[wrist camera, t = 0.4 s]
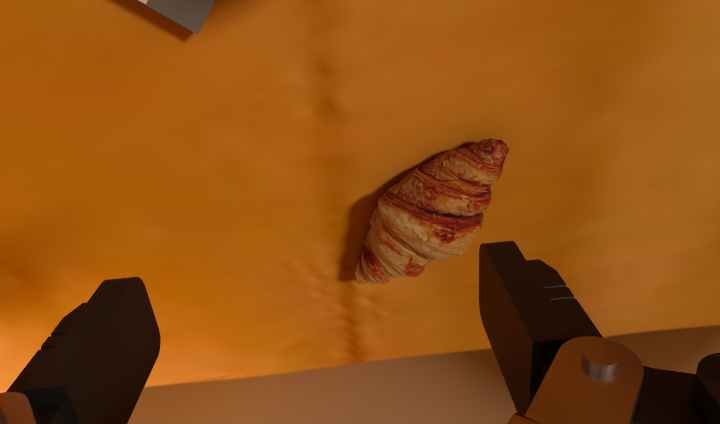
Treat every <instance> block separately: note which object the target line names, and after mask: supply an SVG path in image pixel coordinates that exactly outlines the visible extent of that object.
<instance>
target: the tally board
mask: <svg viewBox="0 0 720 424" xmlns="http://www.w3.org/2000/svg"><path fill="white" fill-rule="evenodd" d="M137 1H139V2H141V3H142V4H144V5H146V6H148V7H149V8H151V9H153V10H155V11H157V12H158V13H160V14H162V15H164V16H165V17H167V18H169V19H171V20H173V21H174V22H176V23H178V24H180V25H181V26H183V27H185V28H187V29H189V30H190V31H192V32H194V33H196V34H197V35H198V33H199V31H200V29H201V27H202V25H203V23H204V21H205V19H206V17H207V16H208V14H209V12H210V10H211V8H212V6H213V4H214V2H215V0H137Z"/></svg>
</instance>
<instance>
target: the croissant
mask: <svg viewBox="0 0 720 424" xmlns="http://www.w3.org/2000/svg"><path fill="white" fill-rule="evenodd" d="M508 151H509V149H508V147H507V145H506V144H505V143H504V142H503V141H502V140H496V139H492V138H490V139H488V140H487V139H484V140H482V141H480V142H478V143H476V144H473V145H471V146H469V147H467V148H461V149H457V150H455V149H454V150H450V151H446V152H444V153H443V154H441V155H439V156H437V157H436V158H435V159H434V160H432V161H430V162H429V163H427V164H424V165H422V166H419V167H417V168H415V169H413V170H412V171H411V172H410V173H409V174H408V175H406V176H405V177H404V178H403V179H402V180H401V181H400V182H399V183H397V184H395V185H394V186H392V187H391V188H389V189H388V191H386V192H384V193H383V194H382V195H381V197H380V198H379V199H378V204H377V205H376V206H375V209H374V211H373V212H372V214H371V217H370V224H371V229H369V231H368V234H367V237H366V239H365V240H364V244H363V252H362V254H361V255H360V257H359V259H358V264H357V267H356V270H355V278H356V280H357V282H358V284H365V283H366V282H368V283H381V284H384V283H387V282H389V281H390V279H391V278H393V277H400V276H404V275H405V276H412V277H418V276H419V275H420V274H422V273H423V272H424V269H425V265H426V263H427V261H428V262H431V261H432V260H433V259H437V260H447V259H450V258H452V257H455V256H457V255H462V253H463V252H464V251H465V250H466V249H467V248H468V246H469V245H470V244H471V242H472V241H473V240H474V239H475V238H476V237H477V236H478V234H479V232H480V230H481V228H482V221H483V212H484V211H485V209H486V208H487V207H488V205H489V203H490V201H491V191H490V190H491V184H492V185H493V184H494V183H496V181H497V180H498V179H499V177H500V175H501V173H502V169H503V163H504V160H505V157H506V154H507V153H508Z"/></svg>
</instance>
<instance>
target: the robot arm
mask: <svg viewBox="0 0 720 424" xmlns="http://www.w3.org/2000/svg"><path fill="white" fill-rule="evenodd" d="M479 307H480V314H481V319H482V323H483V326H484V328H485V331H486V334H487V336H488V339H489V341H490V344H491V346H492V349H493V351H494V354H495V357H496V359H497V362H498V364H499V367H500V369H501V372H502V374H503V377H504V379H505V382H506V384H507V387H508V390H509V392H510V395H511V397H512V400H513V402H514V405H515V408H516V410H517V413H515V414H514V415H513V416H512V417H511V418H510V420H509V421H508V423H507V424H720V353H715V354H711V355H708V356H706V357H704V358H703V359H702V360H701V361H700V362H699V364H698V367H697V371H696V374H691V373H682V372H676V371H668V370H660V369H655V368H650V367H646V366H643V365H642V362H641V361H640V359H639V358H638V356H637V355H636V354H635V353H634V352H632V351H631V350H630V349H629V348H627V347H625V346H624V345H622V344H620V343H618V342H615V341H612V340H609V339H606V338H603V337H602V335H601V334H600V333H599V331H598V330H597V328H596V327H595V325H594V324H593V323H592V321H591V320H590V318H589V317H588V315H587V314H586V312H585V311H584V310H583V308H582V307H581V305H580V304H579V302H578V301H577V300H576V299H574V295H573V294H572V292H571V291H570V289H569V288H568V287H566V284H565V282H564V281H563V279H562V278H561V277H560V275H559V274H558V272H557V271H556V270H555V269H553V268H552V267H550V266H549V265H547V264H545V263H544V262H542V261H541V260H539V259H537V260H527V261H526V260H525V258H524V256H523V255H522V253H521V251H520V250H519V248H518V247H517V245H516V243H515V242H514V241H505V242H495V243H485V244H481V245H480V250H479ZM159 350H160V332H159V328H158V325H157V322H156V319H155V316H154V312H153V309H152V306H151V303H150V300H149V297H148V294H147V291H146V288H145V285H144V283H143V281H142V280H141V279H140V278H139V277H131V278H121V279H111V280H105V281H103V282H102V283H101V285H100V286H99V287H98V289H97V290H96V291H95V293H94V294H93V295H92V297H91V298H90V300H89V301H88V302H87V303H82V304H81V305H80V306H78V307H77V308H76V309H74V310H73V311H72V312H70V313H69V314H68V315H66V316H65V317H64V318H63V319H62V320H61V321H60V323H59V324H58V325H57V327H56V328H55V329H54V331H53V332H52V333H51V337H48V338H47V340H46V341H45V342H44V343H43V345H42V346H41V350H38V351H37V353H36V354H35V355H34V356H33V358H32V359H31V360H30V362H29V363H28V364H27V366H26V367H25V368H24V369H23V371H22V372H21V373H20V375H19V376H18V377H17V378H16V380H15V381H14V382H13V384H12V385H11V386H10V388H9V389H8V390H7V391H6V392H5V393H0V424H127V423H128V420H129V418H130V416H131V414H132V412H133V410H134V407H135V405H136V403H137V401H138V399H139V396H140V394H141V392H142V390H143V388H144V386H145V383H146V381H147V379H148V377H149V375H150V373H151V370H152V368H153V366H154V364H155V362H156V359H157V357H158V355H159Z"/></svg>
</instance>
